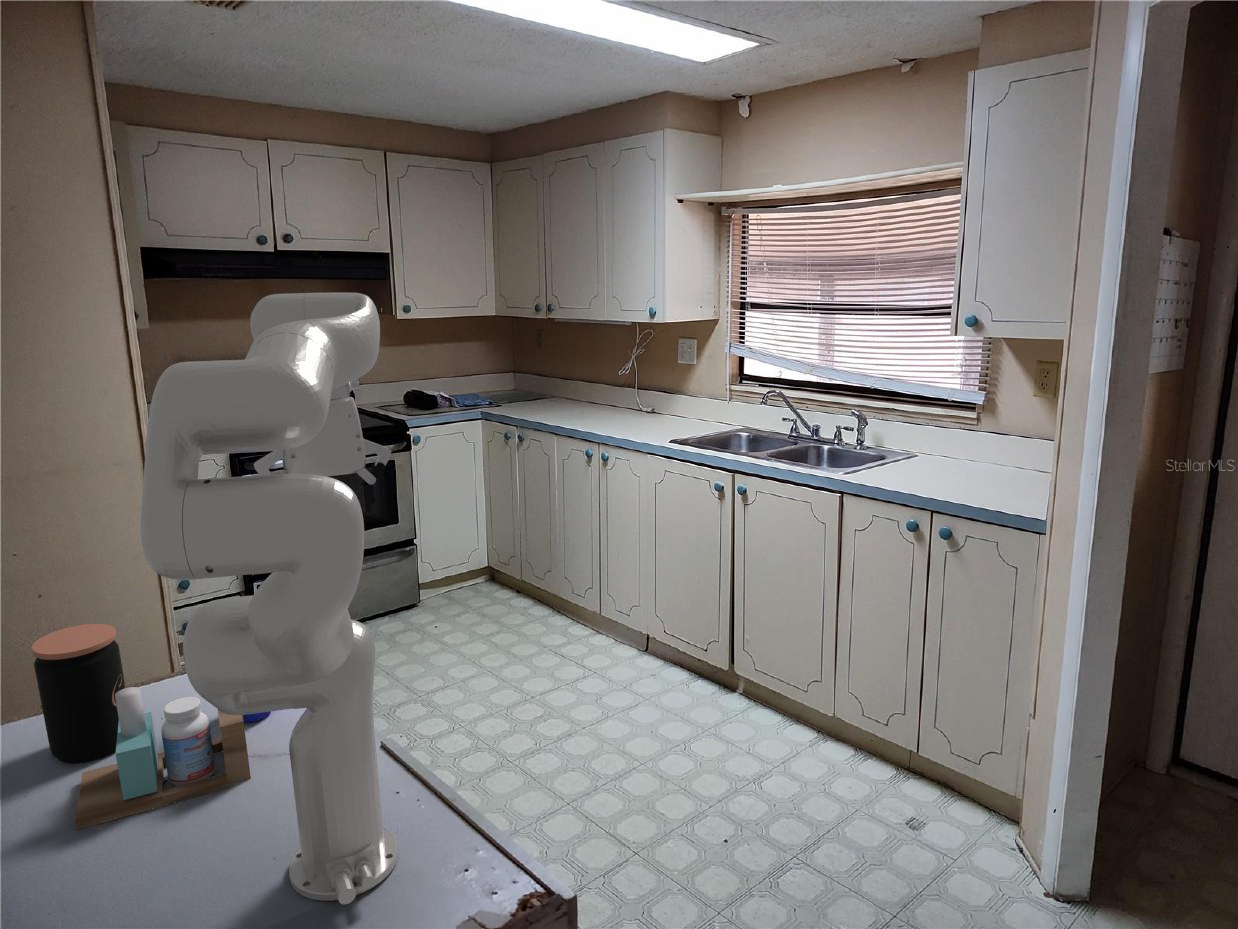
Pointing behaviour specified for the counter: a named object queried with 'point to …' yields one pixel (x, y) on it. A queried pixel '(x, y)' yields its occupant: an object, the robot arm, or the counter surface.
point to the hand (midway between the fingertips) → (330, 516)
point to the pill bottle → (187, 742)
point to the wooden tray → (161, 780)
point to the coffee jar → (80, 691)
